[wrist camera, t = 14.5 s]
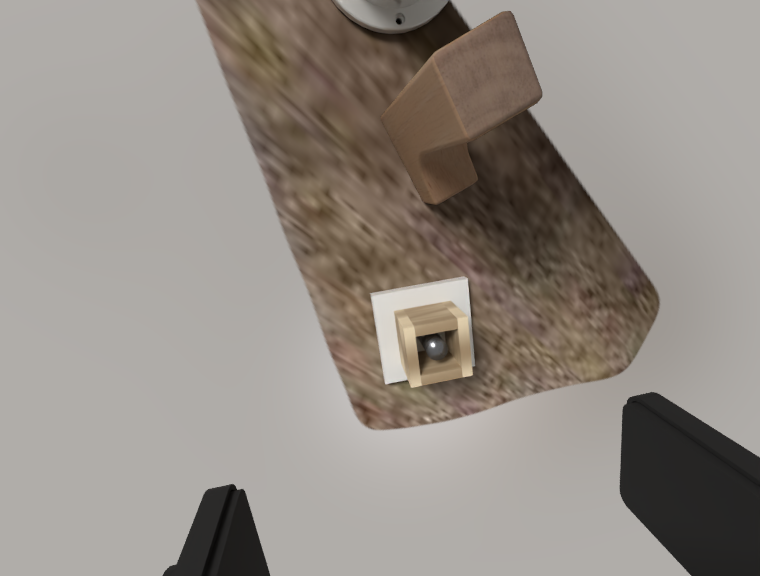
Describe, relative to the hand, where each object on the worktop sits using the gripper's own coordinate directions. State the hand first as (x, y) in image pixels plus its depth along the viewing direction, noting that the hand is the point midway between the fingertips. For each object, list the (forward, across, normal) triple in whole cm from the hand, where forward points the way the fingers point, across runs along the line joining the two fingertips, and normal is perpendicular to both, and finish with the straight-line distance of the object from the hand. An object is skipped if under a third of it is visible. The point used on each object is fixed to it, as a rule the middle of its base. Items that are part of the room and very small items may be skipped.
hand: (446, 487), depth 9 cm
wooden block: (+31, -8, -9) cm, 33 cm away
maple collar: (+29, -6, +9) cm, 31 cm away
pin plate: (+30, -6, +9) cm, 32 cm away
